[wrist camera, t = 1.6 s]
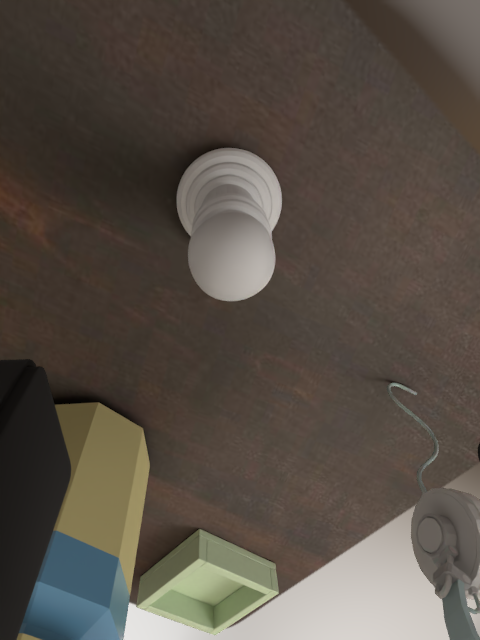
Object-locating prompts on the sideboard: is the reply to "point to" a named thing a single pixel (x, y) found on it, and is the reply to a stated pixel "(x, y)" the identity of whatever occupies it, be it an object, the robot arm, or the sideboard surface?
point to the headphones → (448, 545)
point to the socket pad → (207, 583)
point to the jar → (92, 530)
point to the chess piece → (230, 222)
